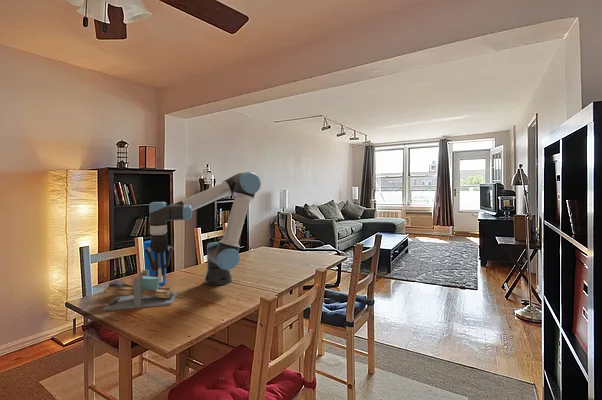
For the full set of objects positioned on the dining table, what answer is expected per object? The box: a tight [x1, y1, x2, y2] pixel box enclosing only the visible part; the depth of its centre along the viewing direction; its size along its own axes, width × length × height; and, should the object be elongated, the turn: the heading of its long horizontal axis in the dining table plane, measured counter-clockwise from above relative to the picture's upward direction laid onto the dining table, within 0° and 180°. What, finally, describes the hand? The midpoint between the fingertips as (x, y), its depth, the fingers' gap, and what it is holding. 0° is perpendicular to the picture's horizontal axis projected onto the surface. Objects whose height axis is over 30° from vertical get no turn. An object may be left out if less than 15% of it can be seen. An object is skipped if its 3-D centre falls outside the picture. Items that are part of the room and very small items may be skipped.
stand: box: [102, 269, 178, 312], centre depth 155 cm, size 29×16×14 cm, turn 102°
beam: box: [103, 271, 173, 298], centre depth 155 cm, size 28×12×9 cm, turn 102°
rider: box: [141, 276, 159, 291], centre depth 156 cm, size 8×4×6 cm, turn 102°
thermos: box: [143, 239, 167, 287], centre depth 181 cm, size 11×11×25 cm
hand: (160, 281), depth 157 cm, fingers closed
